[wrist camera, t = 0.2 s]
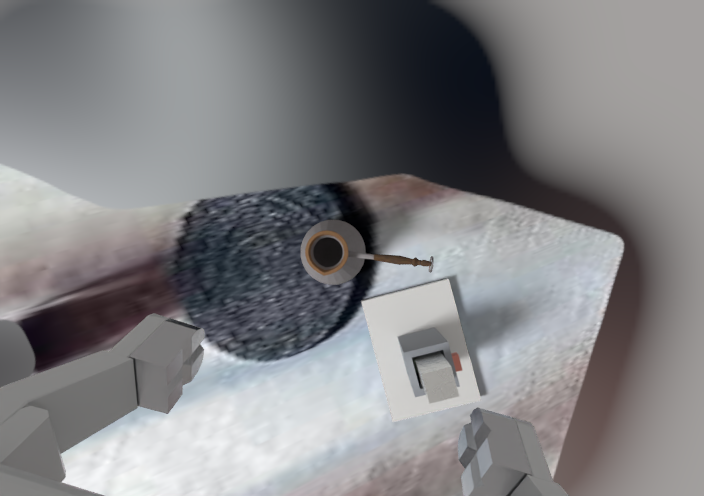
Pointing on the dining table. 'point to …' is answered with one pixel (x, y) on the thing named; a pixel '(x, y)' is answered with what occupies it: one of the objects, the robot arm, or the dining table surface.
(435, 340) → the stand
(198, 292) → the dining table surface
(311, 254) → the coffee pot
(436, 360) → the column
